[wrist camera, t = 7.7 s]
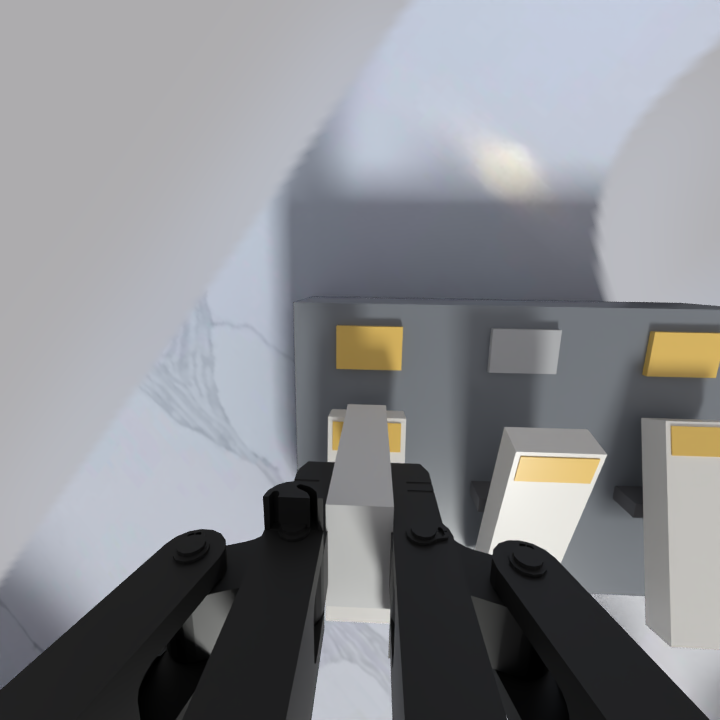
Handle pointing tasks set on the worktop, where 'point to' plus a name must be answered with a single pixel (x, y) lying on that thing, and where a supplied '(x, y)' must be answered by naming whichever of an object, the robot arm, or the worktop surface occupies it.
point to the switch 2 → (540, 487)
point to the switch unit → (513, 396)
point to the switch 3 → (682, 530)
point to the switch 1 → (397, 455)
